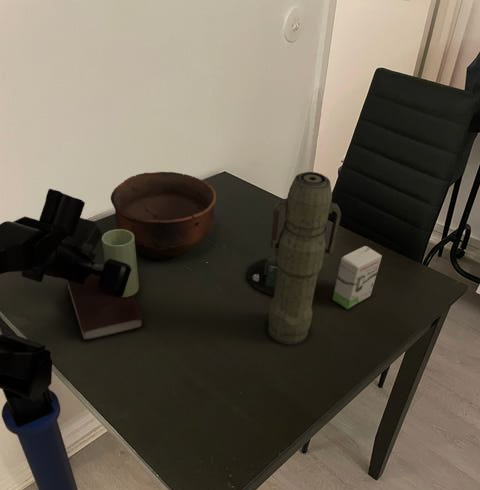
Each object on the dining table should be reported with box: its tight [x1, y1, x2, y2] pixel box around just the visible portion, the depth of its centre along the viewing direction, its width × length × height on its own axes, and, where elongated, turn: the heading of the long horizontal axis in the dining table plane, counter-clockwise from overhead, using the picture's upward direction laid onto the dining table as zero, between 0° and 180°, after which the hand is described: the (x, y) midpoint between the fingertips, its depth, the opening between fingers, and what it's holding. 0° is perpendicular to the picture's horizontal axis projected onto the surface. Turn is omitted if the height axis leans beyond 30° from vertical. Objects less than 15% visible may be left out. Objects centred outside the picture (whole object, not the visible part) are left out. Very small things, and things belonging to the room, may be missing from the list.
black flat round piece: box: [247, 253, 278, 297], centre depth 121 cm, size 15×15×6 cm
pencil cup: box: [101, 228, 140, 297], centre depth 106 cm, size 6×6×13 cm
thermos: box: [267, 171, 342, 345], centre depth 97 cm, size 9×12×35 cm
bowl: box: [110, 171, 218, 260], centre depth 124 cm, size 25×25×15 cm
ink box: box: [332, 245, 383, 310], centre depth 114 cm, size 9×5×12 cm, turn 130°
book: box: [67, 269, 144, 342], centre depth 110 cm, size 12×19×3 cm, turn 23°
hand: (102, 276), depth 101 cm, fingers open, 9 cm apart
